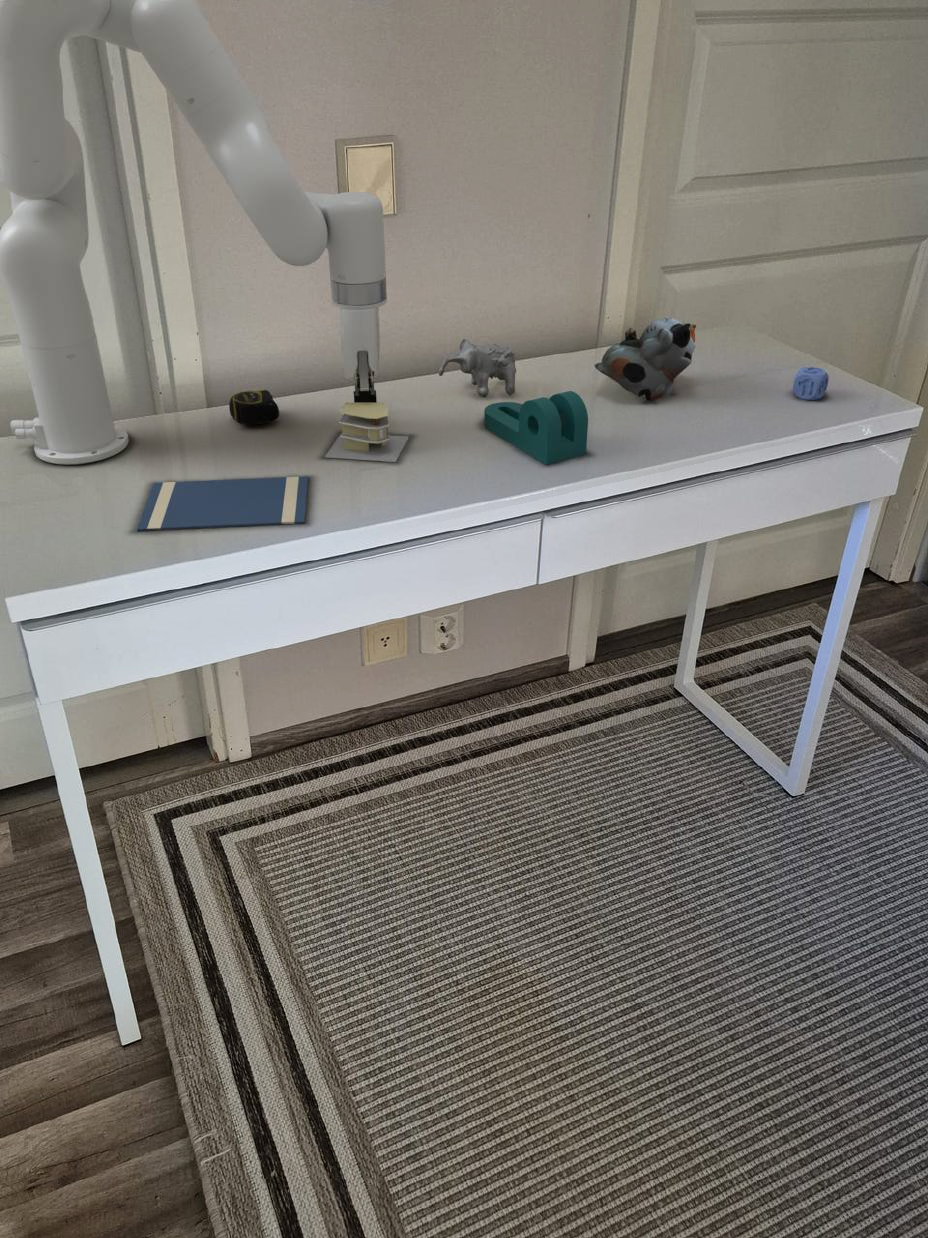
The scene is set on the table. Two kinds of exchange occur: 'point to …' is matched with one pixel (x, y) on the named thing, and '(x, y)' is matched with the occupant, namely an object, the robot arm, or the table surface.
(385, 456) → the stacked layers on plate
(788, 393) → the table surface
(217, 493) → the cloth
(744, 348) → the table surface
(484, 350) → the gray elephant figurine
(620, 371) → the lucky cat figurine
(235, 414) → the tape measure
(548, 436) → the bracket
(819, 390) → the decorative dice
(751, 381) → the table surface
